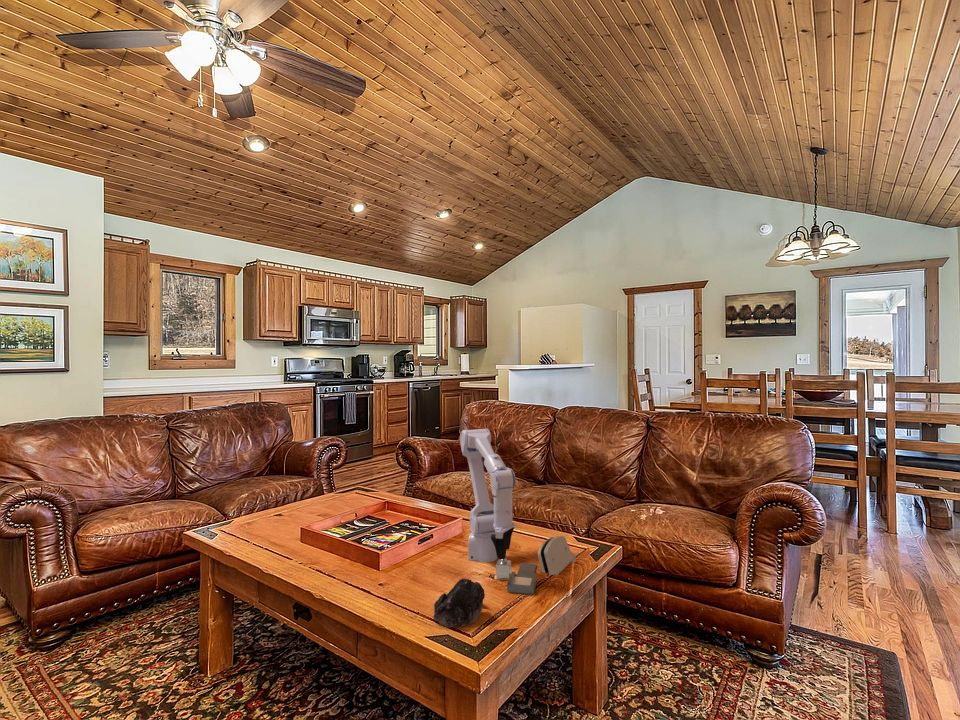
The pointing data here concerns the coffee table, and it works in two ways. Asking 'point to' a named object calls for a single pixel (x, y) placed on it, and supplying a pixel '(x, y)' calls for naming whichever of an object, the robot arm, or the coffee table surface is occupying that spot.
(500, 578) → the pad
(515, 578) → the flange rail
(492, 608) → the coffee table surface
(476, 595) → the black rock
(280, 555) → the coffee table surface
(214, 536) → the coffee table surface
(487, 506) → the robot arm
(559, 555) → the grey rounded housing
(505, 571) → the block
